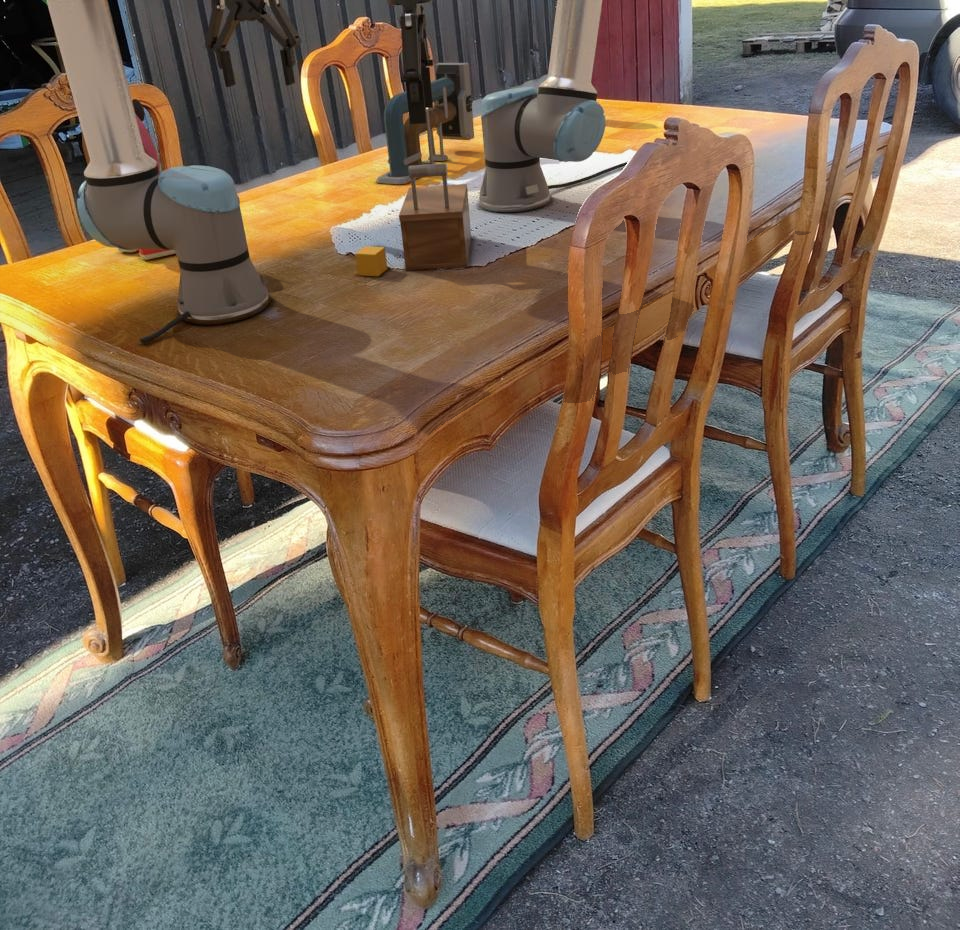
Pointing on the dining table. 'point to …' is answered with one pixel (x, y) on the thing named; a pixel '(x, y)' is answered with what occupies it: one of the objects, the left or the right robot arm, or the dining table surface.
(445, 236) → the chest
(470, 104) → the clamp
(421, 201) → the lid
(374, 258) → the block
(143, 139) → the toy
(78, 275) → the dining table surface
